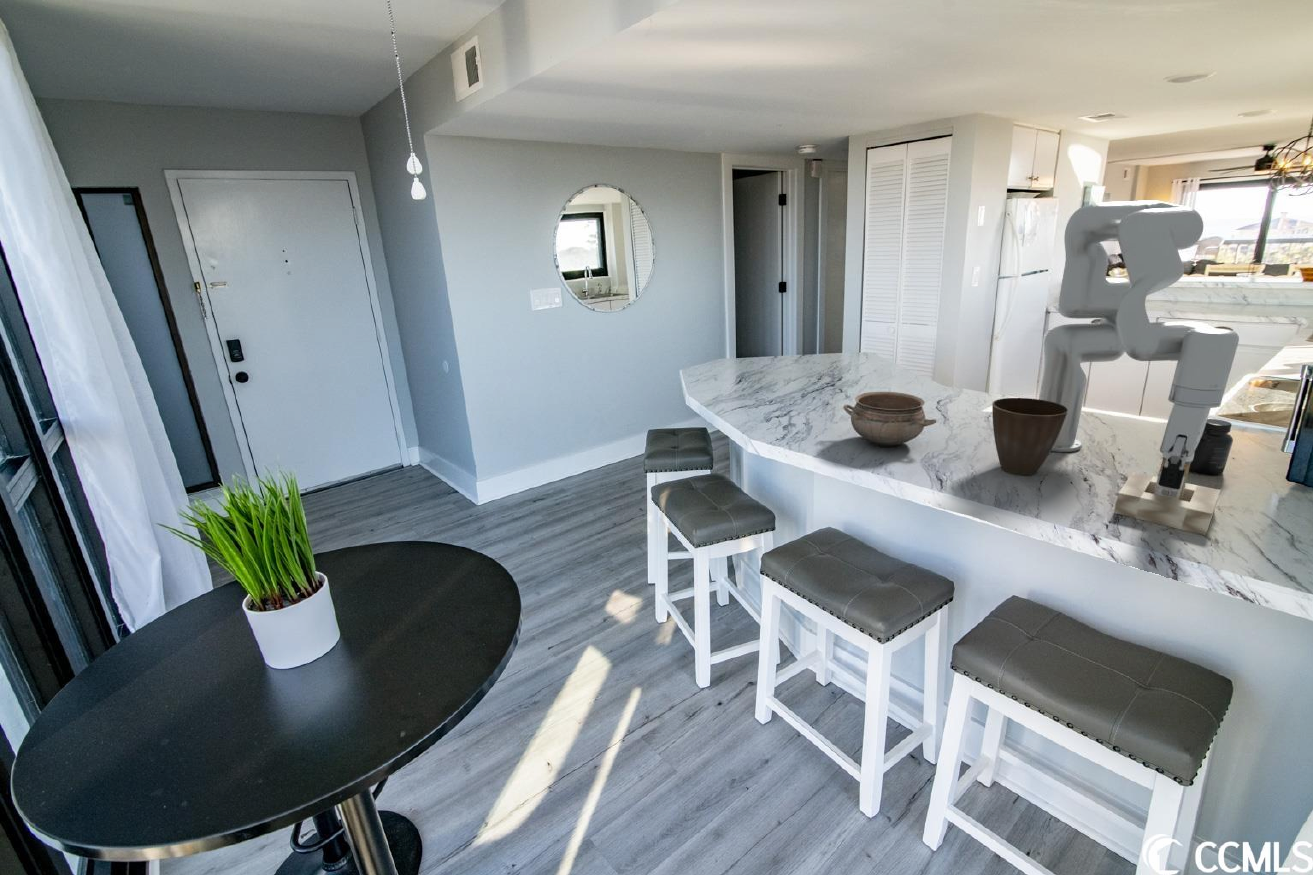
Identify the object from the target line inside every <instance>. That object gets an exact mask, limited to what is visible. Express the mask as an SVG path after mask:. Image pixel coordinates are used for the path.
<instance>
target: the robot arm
mask: <svg viewBox="0 0 1313 875" xmlns="http://www.w3.org/2000/svg"><path fill="white" fill-rule="evenodd" d="M1203 231H1204V221H1203V217H1202V216H1201V214H1200V213H1199V212H1198V211H1197V210H1196V209H1195V208H1191V207H1189V206H1184V205H1179V204H1173V203H1170V202H1165V201H1160V200H1137V201H1136V200H1132V201H1131V200H1129V201H1106V202H1105V201H1104V202H1096V203H1091V204H1087V205H1084V206H1081V207H1080V208H1078V209H1076V211H1074V212H1073V213H1072V215H1071V216H1070V217H1069V218H1068V221H1067V223H1066V226H1065V231H1064V237H1063V239H1064V251H1065V252H1064V253H1065V263H1064V268H1063V273H1062V280H1061V286H1060V292H1059V298H1058V311H1059V314H1060V315H1061V316H1062V317H1064V318H1067V319H1077V320H1078V319H1081V320H1082V319H1085V320H1086V319H1100V321H1099V323H1069V324H1068V323H1067V324H1063V325H1062V324H1060V325H1058V326H1055V327H1053V328H1052V329H1050V330H1049V331H1048V332H1047V333H1046V335H1045V338H1044V342H1043V354H1044V355H1043V356H1044V359H1043V364H1044V365H1043V373H1042V378H1041V379H1042V380H1041V386H1040V390H1039V397H1038V399H1039V400H1045V401H1050V402H1054V403H1058V404H1060V405H1063V406H1065V407H1066V408H1067V409H1068V412H1067V415H1066V418H1065V420H1064V423H1063V425H1062V428H1061V430H1060V433H1059V435H1058V437H1057V440H1056V442H1055V444H1054V446H1053V447H1052V449H1051V451H1050V452H1057V453H1058V452H1059V453H1071V452H1076V451H1080V449H1081V448H1082V445H1083V444H1082V442H1081V441H1080V440H1078V439H1076V438H1077V434H1078V428H1079V424H1080V423H1079V422H1080V418H1081V413H1082V408H1083V404H1084V398H1085V394H1086V388H1087V384H1088V380H1087V379H1088V378H1087V376H1086V374H1085V372H1084V370H1083V368H1082V366H1081V364H1082V363H1083V364H1084V363H1105V362H1112V361H1116V360H1117V361H1118V359H1120V358H1122V356H1124V354H1126V355H1127V356H1128V357H1129V358H1130V359H1132V360H1135V361H1139V362H1163V361H1166V362H1167V361H1169V362H1172V361H1173V362H1174V361H1175V362H1177V363H1176V366H1175V369H1174V374H1173V378H1172V381H1171V382H1172V383H1171V385H1170V386H1171V387H1170V389H1169V394H1168V398H1167V400H1168V402H1171V403H1172V404H1173V405H1172V408H1171V411H1170V413H1169V416H1168V420H1167V423H1166V427H1165V431H1164V433H1163V438H1162V441H1161V444H1160V448H1159V451H1160V453H1162V454H1163V452H1167V451H1168V450H1169V449H1170V450H1169V452H1168V456H1167V459H1166V462H1165V465H1164V466H1163V468H1162V472H1161V476H1160V480H1159V483H1158V484H1159V485H1160V486H1163V487H1168V488H1173V489H1180V486H1181V483H1182V479H1183V475H1184V472H1185V470H1183V468H1184V465H1185V462H1186V459H1187V457H1191V456H1192V455H1193V453H1194V451H1195V450H1196V448H1197V446H1198V444H1199V442H1200V439H1201V437H1202V434H1203V431H1204V428H1205V425H1206V422H1207V419H1209V415H1210V413H1211V412H1210V411H1211V408H1212V409H1214V408H1215V409H1216V408H1219V407H1221V404H1222V401H1223V398H1224V395H1225V390H1226V387H1227V384H1228V380H1229V378H1230V373H1231V370H1232V367H1233V363H1234V359H1235V356H1236V352H1237V349H1238V345H1239V341H1240V336H1239V334H1238V333H1237V332H1236V331H1233V330H1230V329H1226V328H1218V327H1217V328H1215V327H1213V326H1211V325H1209V324H1206V323H1205V322H1200V321H1158V322H1157V321H1156V322H1153V321H1152V322H1150V319H1149V316H1148V313H1147V309H1146V299H1147V297H1148V296H1150V295H1152V294H1154V293H1157V292H1160V291H1161V290H1164V289H1167V288H1169V287H1171V286H1172V285H1174V284H1175V283H1177V282H1178V281H1179V280H1180V279H1181V278H1182V277H1183V275H1184V272H1185V267H1184V264H1183V262H1182V259H1181V256H1180V253H1179V251H1180V250H1181V251H1182V250H1185V249H1186V250H1187V249H1190V248H1191V247H1193V246H1194V245H1196V244H1197V243H1198V242H1199V241H1200V239H1201V237H1202V235H1203ZM1103 242H1117V243H1118V246H1119V248H1120V252H1121V256H1122V258H1123V259H1122V260H1123V262H1124V266H1125V268H1126V269H1125V270H1126V271H1127V272H1126V273H1127V276H1128V279H1127V278H1123V277H1107V270H1108V266H1109V255H1108V253H1107V251H1106V249H1105V247H1104V245H1103V244H1102V243H1103ZM1172 450H1173V451H1172ZM1182 452H1186V453H1185V454H1183V453H1182ZM1180 458H1183V459H1182V461H1181V459H1180Z"/></svg>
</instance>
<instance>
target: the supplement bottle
mask: <svg viewBox="0 0 1313 875" xmlns="http://www.w3.org/2000/svg"><path fill="white" fill-rule="evenodd" d="M1231 428H1232V423H1231V422H1229V421H1227V420H1223V419H1216V418H1208V419H1207V422H1206V425H1205V428H1204V431H1203V434H1202V437H1201V439H1200V442H1199V444H1198V446H1197V448H1196V450H1195V451H1194V458H1193V461H1191V464H1190V468H1189V472H1191V473H1194V474H1196V475H1201V476H1202V475H1203V476H1207V477H1208V476H1209V477H1217V476H1221V475H1222V474H1223V473H1224V471H1225V468H1226V466H1227V465H1226V464H1227V461H1228V460H1229V455H1230V452H1231V449H1232V445H1233V443H1234V438H1233V437H1232V435H1230V434H1229V433H1230V432H1231Z"/></svg>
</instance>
